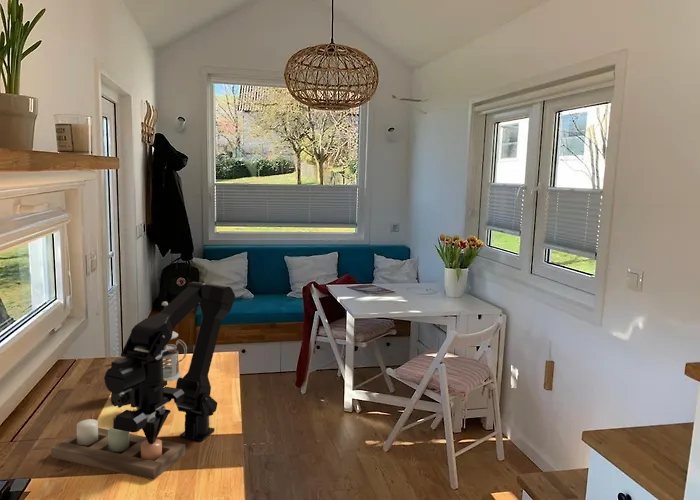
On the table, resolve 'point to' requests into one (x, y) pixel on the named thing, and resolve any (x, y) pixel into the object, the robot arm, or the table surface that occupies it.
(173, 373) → the french press
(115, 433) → the button sage
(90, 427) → the button cream
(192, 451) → the table surface
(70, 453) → the wooden compartment tray
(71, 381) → the table surface
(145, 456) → the button rust
